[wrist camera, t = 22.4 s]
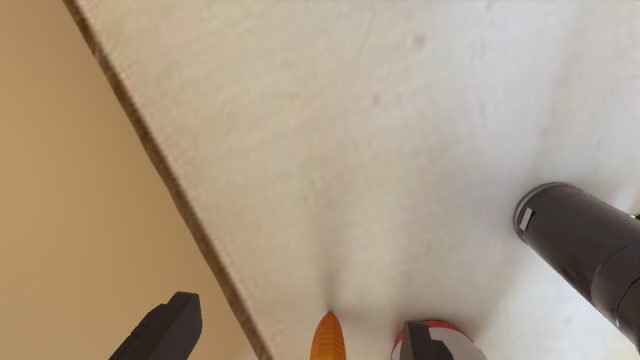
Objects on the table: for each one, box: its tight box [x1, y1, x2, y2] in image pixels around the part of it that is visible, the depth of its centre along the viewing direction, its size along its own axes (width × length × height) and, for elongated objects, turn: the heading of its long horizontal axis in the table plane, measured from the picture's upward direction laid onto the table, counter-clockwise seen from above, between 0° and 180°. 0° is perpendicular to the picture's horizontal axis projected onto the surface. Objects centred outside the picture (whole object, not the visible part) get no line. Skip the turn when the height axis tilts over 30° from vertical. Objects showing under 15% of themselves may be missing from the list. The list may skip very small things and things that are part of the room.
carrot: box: [310, 312, 346, 360], centre depth 44 cm, size 5×5×15 cm
